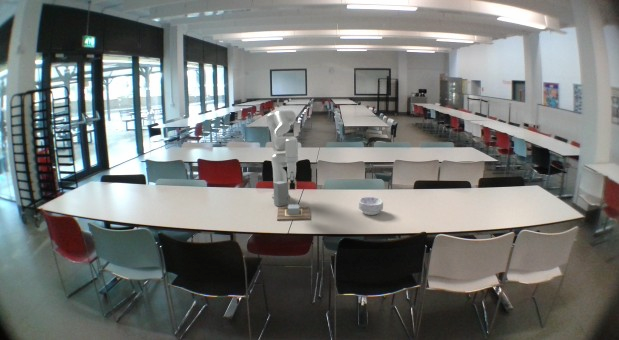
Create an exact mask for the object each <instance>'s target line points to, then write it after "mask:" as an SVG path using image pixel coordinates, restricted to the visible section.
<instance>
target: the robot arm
mask: <svg viewBox="0 0 619 340" xmlns="http://www.w3.org/2000/svg"><path fill="white" fill-rule="evenodd" d="M296 116H297V115H296V113H295V112H294V111H293V110H287V109H286V110H278V111H276V112H272V113H268V114H267V115H266V124H267V127H268V129H269V132H270V140H271V147H272V151H274V152H276V153H274V154H273V155H272V156H271V159H270V160H271V161H270V162H271V166H272V178H273V179H272V180H273V183H274V182H278V181H285V182H288V180H290V189H295V183H294V180H293V179H296V175H297V163H298V162H299V147H298V146H299V143H298V138H297V137H296V136H293V135H292V136H284V135H285V134H287V133H288V132H289V131H290V130H291V126H290V125H293V124H294V123H295V122H296V120H297V117H296ZM277 152H278V153H277ZM281 152H283V153H281ZM285 168H286V169H287V170H285ZM288 196H289V197H290V194H289V193H288ZM271 197H272V199H274V193H272V194H271Z"/></svg>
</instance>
